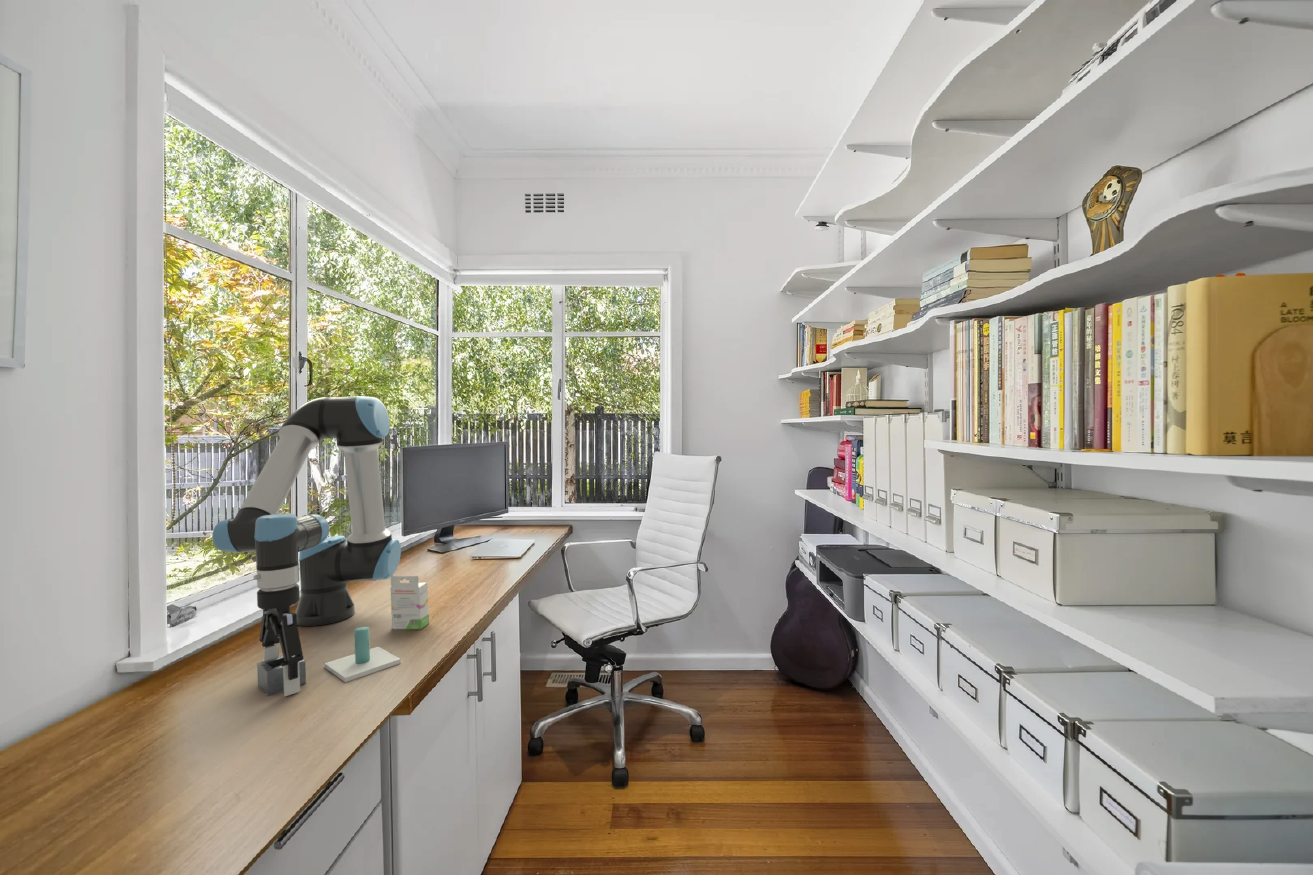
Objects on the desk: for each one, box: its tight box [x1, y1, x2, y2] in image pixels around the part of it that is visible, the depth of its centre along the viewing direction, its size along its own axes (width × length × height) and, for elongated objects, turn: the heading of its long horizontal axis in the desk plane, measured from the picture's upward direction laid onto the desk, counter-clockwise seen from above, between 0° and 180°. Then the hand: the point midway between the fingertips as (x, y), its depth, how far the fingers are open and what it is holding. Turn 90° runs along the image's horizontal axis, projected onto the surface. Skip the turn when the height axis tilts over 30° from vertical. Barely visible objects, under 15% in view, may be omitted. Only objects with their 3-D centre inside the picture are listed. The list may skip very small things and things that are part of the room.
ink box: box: [390, 575, 430, 630], centre depth 152 cm, size 9×5×15 cm, turn 84°
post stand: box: [324, 626, 401, 683], centre depth 128 cm, size 12×12×8 cm
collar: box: [256, 655, 307, 697], centre depth 119 cm, size 7×7×5 cm
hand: (281, 684), depth 119 cm, fingers open, 13 cm apart
